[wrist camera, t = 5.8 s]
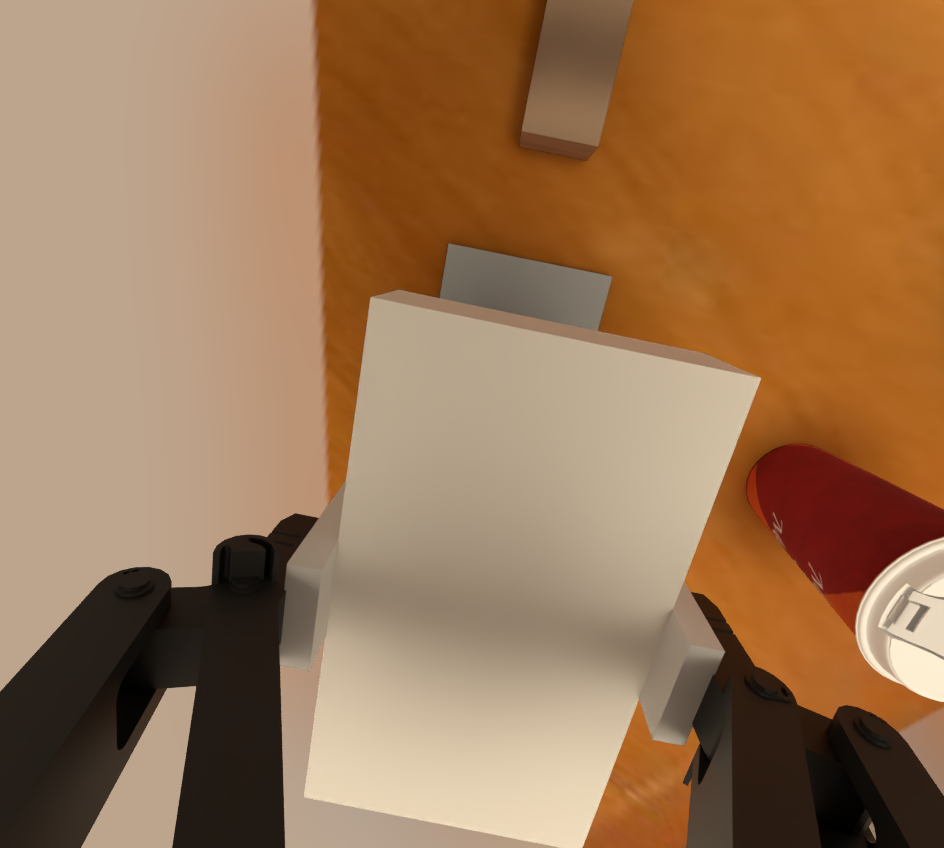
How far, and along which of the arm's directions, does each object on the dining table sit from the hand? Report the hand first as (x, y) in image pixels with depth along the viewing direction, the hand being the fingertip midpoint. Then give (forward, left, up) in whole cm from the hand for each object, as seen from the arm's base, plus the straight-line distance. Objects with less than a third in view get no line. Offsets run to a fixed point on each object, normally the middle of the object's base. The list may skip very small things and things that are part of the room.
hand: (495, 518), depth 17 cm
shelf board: (0, 0, +2) cm, 2 cm away
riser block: (-18, 0, -18) cm, 26 cm away
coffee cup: (+3, +21, -18) cm, 28 cm away
